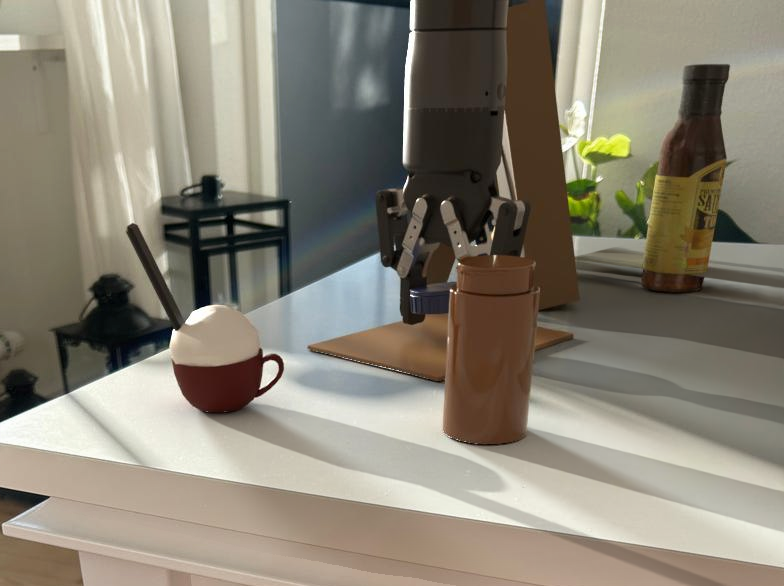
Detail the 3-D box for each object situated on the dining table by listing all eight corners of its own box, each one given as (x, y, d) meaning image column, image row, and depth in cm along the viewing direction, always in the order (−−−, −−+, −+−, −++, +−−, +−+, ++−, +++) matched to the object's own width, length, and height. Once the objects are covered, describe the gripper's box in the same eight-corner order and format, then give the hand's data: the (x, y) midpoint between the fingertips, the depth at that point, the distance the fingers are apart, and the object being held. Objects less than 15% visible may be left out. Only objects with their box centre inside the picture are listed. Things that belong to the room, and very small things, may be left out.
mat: (444, 313, 96) (444, 309, 95) (573, 338, 87) (574, 333, 87) (307, 350, 85) (307, 345, 85) (438, 382, 76) (438, 377, 76)
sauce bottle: (695, 297, 100) (734, 64, 90) (631, 291, 103) (663, 64, 93) (710, 285, 105) (750, 62, 95) (649, 279, 108) (681, 63, 98)
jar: (438, 418, 69) (447, 254, 63) (519, 418, 69) (534, 253, 63) (446, 445, 64) (456, 270, 59) (533, 445, 64) (550, 269, 59)
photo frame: (545, 267, 114) (571, 4, 102) (578, 311, 95) (614, -5, 83) (412, 268, 115) (421, 8, 103) (419, 311, 96) (431, -1, 84)
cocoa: (295, 402, 72) (291, 221, 66) (246, 427, 68) (237, 235, 62) (186, 385, 77) (173, 213, 71) (134, 407, 72) (115, 226, 66)
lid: (496, 306, 82) (495, 283, 82) (427, 317, 81) (426, 294, 80) (464, 300, 88) (463, 279, 87) (400, 310, 86) (398, 288, 86)
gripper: (350, 101, 79) (349, 324, 87) (503, 105, 70) (485, 352, 78) (413, 97, 83) (407, 309, 92) (564, 100, 74) (542, 334, 83)
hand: (443, 328), depth 85 cm, fingers closed on lid, 5 cm apart
